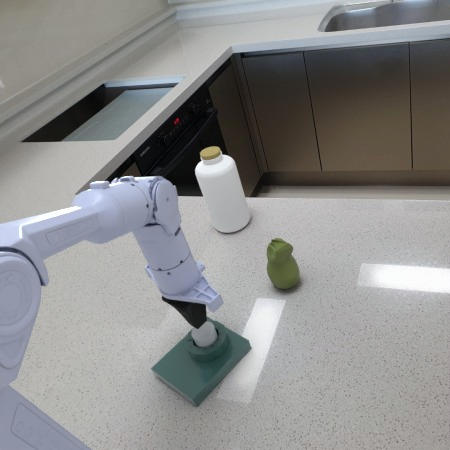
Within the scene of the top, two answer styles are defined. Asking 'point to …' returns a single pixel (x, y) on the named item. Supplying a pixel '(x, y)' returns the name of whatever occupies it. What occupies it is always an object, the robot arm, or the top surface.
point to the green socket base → (201, 363)
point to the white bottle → (222, 190)
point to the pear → (282, 264)
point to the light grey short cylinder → (204, 335)
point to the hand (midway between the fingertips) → (199, 323)
